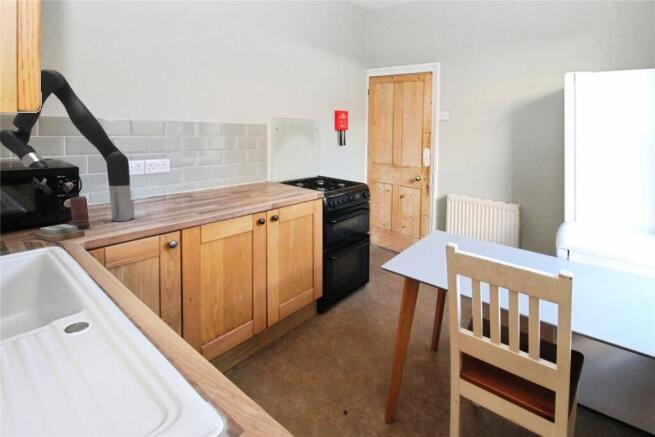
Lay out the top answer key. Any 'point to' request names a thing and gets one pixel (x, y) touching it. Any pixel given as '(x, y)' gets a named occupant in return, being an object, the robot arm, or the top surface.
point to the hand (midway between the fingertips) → (59, 192)
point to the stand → (59, 232)
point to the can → (79, 212)
